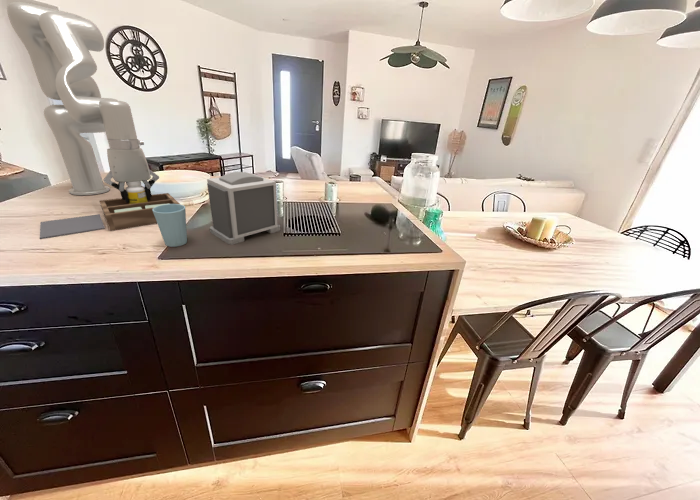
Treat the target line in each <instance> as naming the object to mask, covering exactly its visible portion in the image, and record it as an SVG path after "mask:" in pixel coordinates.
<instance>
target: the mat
mask: <svg viewBox="0 0 700 500" xmlns="http://www.w3.org/2000/svg"><path fill="white" fill-rule="evenodd" d="M39 227H40V228H39V239H40V240H45V239H50V238H55V237H56V238H57V237H63V236H69V235H75V234H81V233H88V232H93V231H99V230H105V229H106V227H105V225H104V222H103V219H102V216H101V214H98V213H97V214H90V215H83V216H77V217H76V216H75V217H74V216H73V217H69V218H67V217H66V218H62V219H61V218H60V219H53V220H45V221H40V225H39Z"/></svg>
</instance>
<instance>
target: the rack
mask: <svg viewBox="0 0 700 500" xmlns="http://www.w3.org/2000/svg"><path fill="white" fill-rule="evenodd" d="M151 195H152V197H150V200H148V202H143V203H135V204H129V202H128V203H126V201H125V200H122V197H121V198H120V197H119V198H110V199H103V200H99V204H100V208H101V211H102V214H103V216H104V219H105V221H106V224H107V226H108V228H109V230H110V232H114V231H119V230H126V229H132V228H139V227H144V226H150V225H156V224H157V221H156V218H155V216H154V213H153V210H152V209H153V208H147V209H145V206H147V205H158V204H168V203H169V204H180V205H182V204H181V203H180V202H179V201H178V200H177V199H176V198H174V197H173V196H172V195H171V194H170V193H169V192H166V193H157V194H151ZM134 207H141V208H142V209H139V210H132V211H124V212H117V213H114V210H119V209H126V208H134ZM157 225H158V224H157Z"/></svg>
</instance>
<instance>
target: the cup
mask: <svg viewBox="0 0 700 500" xmlns="http://www.w3.org/2000/svg"><path fill="white" fill-rule="evenodd" d="M180 204H181V203H180ZM180 204H165V205H160V206H157V207H154V208H153V209H152V210H153V213H154V216H155V218H156V221H157V226H158V229H159V231H160V234H161V237H162V240H163V242H164V245H165V246H166V247H172V248H173V247H174V248H175V247H181V246H184V245H185V244H187V242H188V235H187V234H188V233H187V232H188V231H187V214H186V212H187V211H186V206H185V205H184V204H181V205H180Z"/></svg>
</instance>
